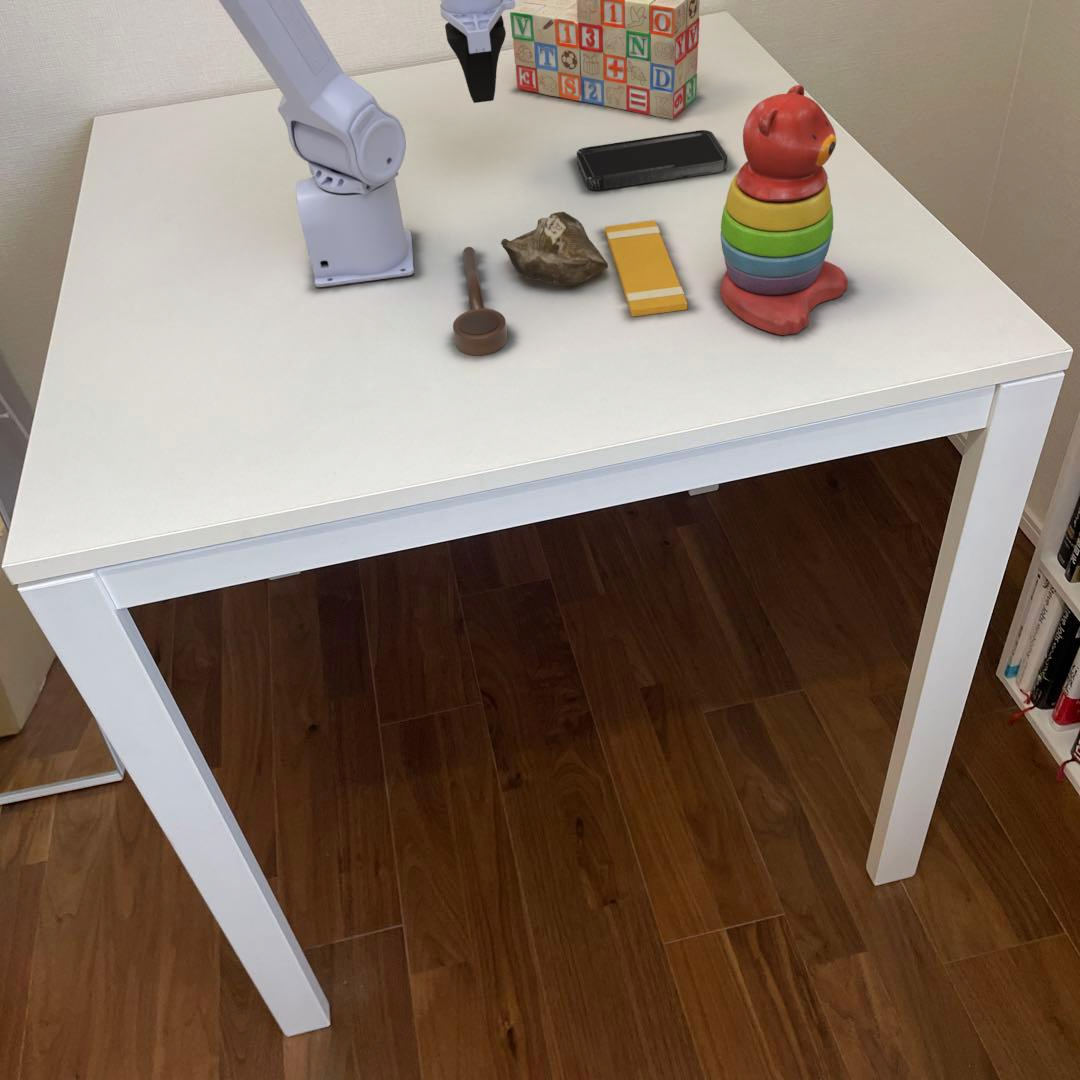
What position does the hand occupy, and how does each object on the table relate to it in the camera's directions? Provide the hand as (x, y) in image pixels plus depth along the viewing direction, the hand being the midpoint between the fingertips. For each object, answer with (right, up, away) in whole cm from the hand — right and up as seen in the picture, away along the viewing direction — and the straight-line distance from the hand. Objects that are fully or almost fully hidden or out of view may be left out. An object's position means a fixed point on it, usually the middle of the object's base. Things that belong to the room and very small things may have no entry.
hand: (483, 99), depth 110 cm
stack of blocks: (+13, +9, +21) cm, 26 cm away
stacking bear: (+27, -22, -12) cm, 37 cm away
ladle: (0, -22, -9) cm, 24 cm away
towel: (+15, -19, -7) cm, 25 cm away
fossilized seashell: (+7, -19, -7) cm, 22 cm away
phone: (+18, -4, +7) cm, 19 cm away
